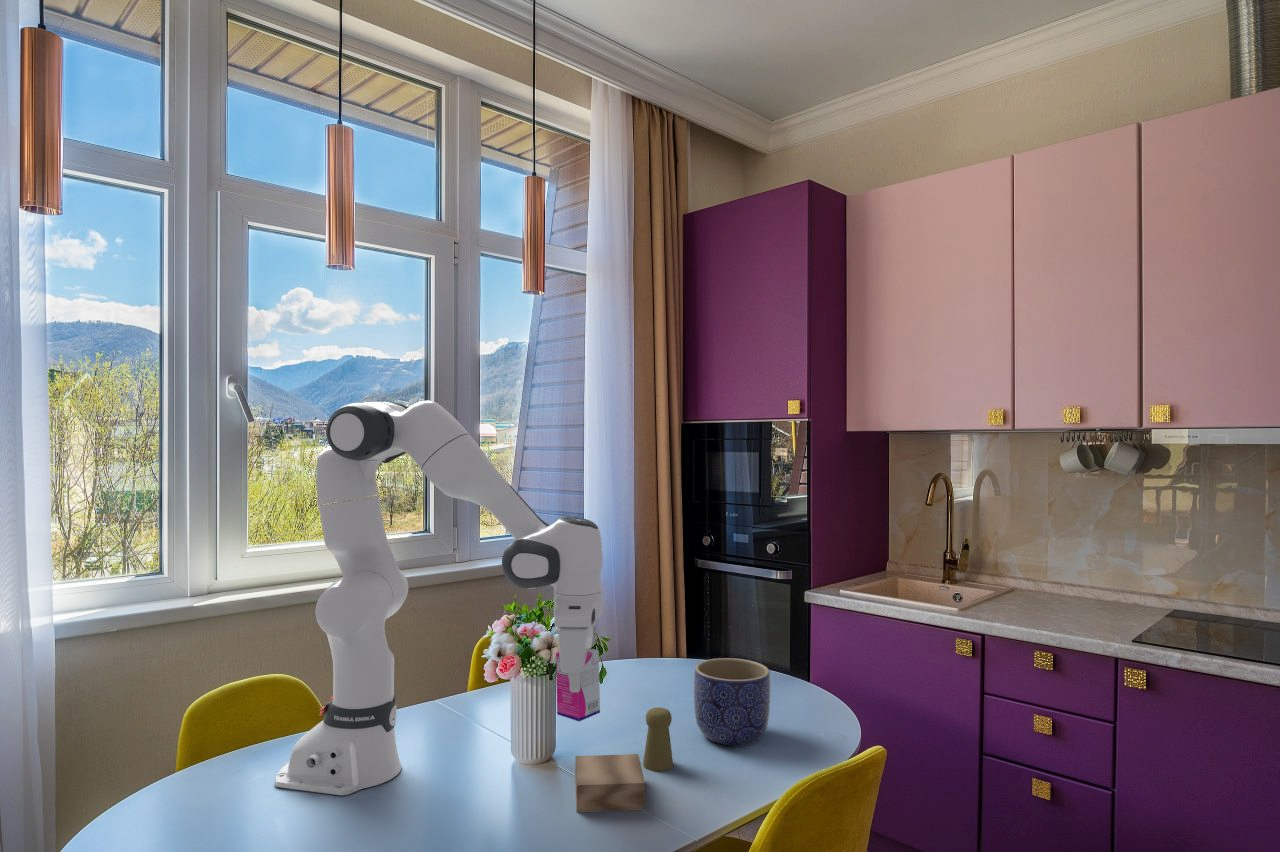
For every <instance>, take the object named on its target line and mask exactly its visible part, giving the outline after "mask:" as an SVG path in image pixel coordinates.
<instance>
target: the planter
mask: <svg viewBox="0 0 1280 852" xmlns="http://www.w3.org/2000/svg"><path fill="white" fill-rule="evenodd" d="M693 678H694V679H693V683H694V684H693V685H694V686H693V692H694V694H693V695H694V696H693V701H694V717H695V722H696V724H697V727H698V729H699V730H700V733H701V734H703V736H704V737H706V738H707V739H708V740H709V741H711V742H714V743H716V744H719V745H722V746H731V747H742V746H747V745H750V744H753V743H754V742H756V741H758V740H759V739H760V738H761V737H762V736H763V735H764V733H765V732H766V730H767V728H768V725H769V719H770V711H771V710H770V709H771V708H770V707H771V671H770V669H769V668H768V667H767V666H766V665H764V664H762V663H760V662H757V661H753V660H749V659H744V658H735V657H733V658H732V657H726V658H725V657H724V658H723V657H722V658H721V657H718V658H712V659H711V658H710V659H706V660H703V661H701V662H700V661H699V663H697V664H696V665H695V667H694V675H693Z"/></svg>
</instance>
